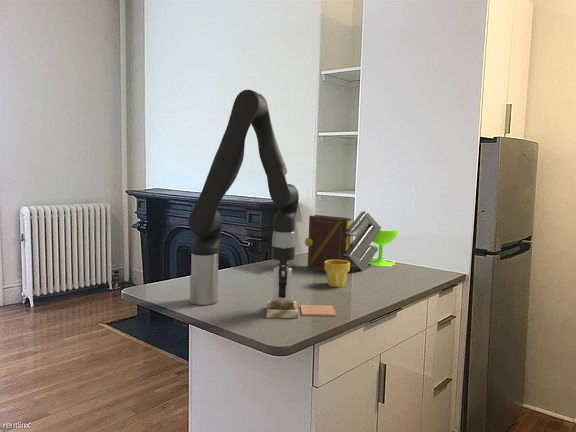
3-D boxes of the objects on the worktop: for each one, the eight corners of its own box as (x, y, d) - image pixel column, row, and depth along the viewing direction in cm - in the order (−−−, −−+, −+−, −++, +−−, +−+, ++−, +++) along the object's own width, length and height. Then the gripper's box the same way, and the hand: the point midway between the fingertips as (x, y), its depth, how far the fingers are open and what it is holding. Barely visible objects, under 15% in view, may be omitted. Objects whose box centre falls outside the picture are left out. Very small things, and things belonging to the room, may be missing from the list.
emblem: (370, 265, 242) (372, 209, 239) (379, 267, 239) (382, 210, 236) (338, 274, 221) (341, 212, 218) (348, 276, 217) (351, 213, 214)
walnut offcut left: (270, 313, 158) (271, 302, 157) (270, 311, 160) (271, 300, 160) (281, 313, 158) (281, 302, 157) (281, 311, 160) (281, 300, 160)
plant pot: (318, 285, 200) (319, 261, 199) (334, 281, 207) (334, 258, 206) (338, 290, 193) (339, 265, 192) (354, 285, 200) (355, 262, 199)
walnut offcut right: (283, 313, 158) (283, 303, 157) (283, 311, 160) (283, 300, 160) (293, 313, 158) (294, 303, 158) (293, 311, 160) (293, 301, 160)
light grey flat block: (272, 307, 163) (273, 269, 161) (272, 305, 165) (273, 267, 164) (290, 308, 163) (291, 269, 161) (290, 306, 165) (291, 268, 164)
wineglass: (383, 268, 235) (384, 231, 233) (357, 263, 247) (359, 227, 245) (402, 265, 246) (404, 229, 244) (377, 259, 258) (379, 225, 256)
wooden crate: (351, 271, 227) (353, 218, 224) (343, 275, 220) (345, 219, 217) (310, 265, 238) (311, 214, 236) (301, 268, 231) (302, 215, 229)
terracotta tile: (302, 315, 159) (302, 313, 159) (300, 306, 169) (300, 305, 169) (336, 316, 159) (336, 314, 159) (332, 307, 169) (332, 305, 169)
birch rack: (266, 317, 156) (266, 310, 156) (266, 307, 167) (267, 300, 167) (298, 318, 156) (298, 310, 156) (296, 307, 167) (296, 301, 167)
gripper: (272, 241, 169) (270, 290, 170) (272, 248, 155) (270, 301, 157) (293, 241, 169) (292, 290, 171) (295, 248, 155) (294, 302, 157)
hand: (282, 295), depth 164 cm, fingers closed on light grey flat block, 2 cm apart
